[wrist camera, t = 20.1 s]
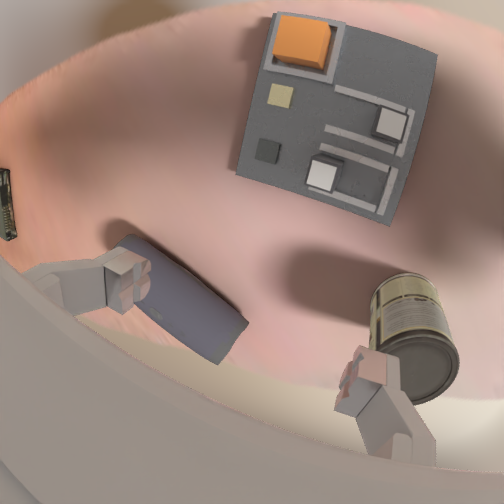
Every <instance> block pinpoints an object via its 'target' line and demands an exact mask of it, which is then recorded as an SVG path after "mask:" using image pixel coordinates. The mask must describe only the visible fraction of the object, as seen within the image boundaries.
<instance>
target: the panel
mask: <svg viewBox="0 0 504 504" xmlns="http://www.w3.org/2000/svg"><path fill="white" fill-rule="evenodd" d="M281 15H285V16H293V17H300V18H307V19H313V20H318V21H324V22H328V25H329V28H330V30H331V33H332V35H331V39H330V44H329V48H328V52H327V56H326V61H325V65H324V69H323V70H320V69H315V68H311V67H306V66H301V65H296V64H291V63H286V62H281V61H280V60H279V59H278V58H277V57H275V56H274V55H273V54H272V51H273V47H274V43H275V39H276V35H277V31H278V27H279V23H280V19H281ZM437 56H438V55H437V54H435V53H432V52H430V51H428V50H425V49H422V48H420V47H417V46H415V45H412V44H409V43H406V42H403V41H401V40H398V39H395V38H391V37H388V36H385V35H382V34H378V33H375V32H372V31H368V30H364V29H360V28H356V27H352V26H348V25H346V23H345V22H340V21H336V20H331V19H326V18H320V17H315V16H309V15H302V14H295V13H287V12H277V13H273V16H272V20H271V24H270V28H269V31H268V35H267V39H266V43H265V47H264V51H263V56H262V60H261V64H260V68H259V72H258V76H257V80H256V85H255V89H254V93H253V98H252V102H251V106H250V111H249V115H248V120H247V124H246V128H245V133H244V138H243V142H242V147H241V151H240V156H239V161H238V165H237V170H236V175H239V176H242V177H245V178H249V179H252V180H256V181H259V182H262V183H265V184H269V185H272V186H275V187H278V188H281V189H285V190H288V191H291V192H294V193H297V194H300V195H303V196H306V197H309V198H312V199H315V200H318V201H321V202H324V203H327V204H330V205H333V206H335V207H338V208H341V209H344V210H347V211H349V212H352V213H355V214H358V215H360V216H363V217H366V218H368V219H371V220H374V221H376V222H379V223H382V224H384V225H387V226H389V227H390V225H391V222H392V219H393V217H394V214H395V211H396V208H397V206H398V203H399V200H400V197H401V194H402V191H403V188H404V185H405V182H406V179H407V176H408V173H409V170H410V167H411V164H412V160H413V157H414V154H415V150H416V147H417V143H418V140H419V136H420V133H421V129H422V125H423V121H424V117H425V113H426V109H427V105H428V101H429V96H430V92H431V87H432V82H433V77H434V72H435V67H436V62H437ZM380 104H381V105H384V106H387V107H390V108H392V109H395V110H398V111H400V112H403V113H406V114H408V115H410V116H409V120H408V124H407V127H406V131H405V135H404V138H403V142H402V144H398V143H394V142H391V141H389V140H386V139H383V138H380V137H378V136H375V135H372V134H371V132H372V128H373V124H374V120H375V117H376V113H377V109H378V107H379V105H380ZM319 153H320V154H323V155H327V156H330V157H333V158H336V159H339V160H342V161H344V164H343V168H342V171H341V175H340V178H339V181H338V185H337V187H336V189H335V190H334V192H333V194H330V193H327V192H324V191H321V190H318V189H315V188H312V187H309V186H306V185H304V181H305V177H306V174H307V170H308V166H309V163H310V159H311V156H313V155H316V154H319Z"/></svg>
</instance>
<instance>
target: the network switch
mask: <svg viewBox="0 0 504 504" xmlns="http://www.w3.org/2000/svg"><path fill="white" fill-rule="evenodd" d="M9 172H10V170H8V169H0V237H1V238H3V239H4V240H6V241H10V240H12V239H14V238H16V237H17V233H16V230H15V226H14V225H15V222H14V221H13V220H14V218H13V209H12V203H11V202H12V199H11V192H10V184H9V183H10V182H9V181H10V178H9ZM12 222H13V223H12Z"/></svg>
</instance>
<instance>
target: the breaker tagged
mask: <svg viewBox="0 0 504 504" xmlns="http://www.w3.org/2000/svg"><path fill="white" fill-rule="evenodd" d="M409 116H410V115H408V114H406V113H403V112H400V111H398V110H395V109H392V108H390V107H387V106H384V105H381V104H380V105H379V107H378V109H377V113H376V117H375V120H374V124H373V128H372V132H371V134H372V135H375V136H378V137H380V138H383V139H386V140H389V141H391V142H394V143H398V144H402V142H403V138H404V135H405V131H406V127H407V124H408V120H409Z"/></svg>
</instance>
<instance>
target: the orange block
mask: <svg viewBox="0 0 504 504" xmlns="http://www.w3.org/2000/svg"><path fill="white" fill-rule="evenodd" d="M331 35H332V33H331V30H330V28H329V25H328V22H324V21H318V20H313V19H307V18H300V17H293V16H285V15H281V19H280V23H279V27H278V31H277V35H276V39H275V43H274V47H273V51H272V54H273V55H274V56H275V57H277V58H278V59H279V60H280V61H281V62H286V63H291V64H296V65H301V66H306V67H311V68H315V69H320V70H323V69H324V65H325V61H326V56H327V52H328V48H329V44H330V39H331Z"/></svg>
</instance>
